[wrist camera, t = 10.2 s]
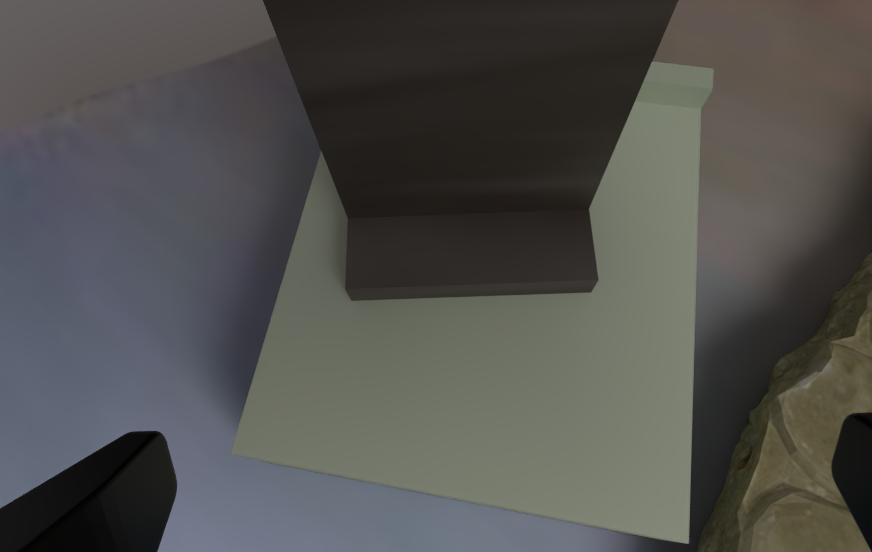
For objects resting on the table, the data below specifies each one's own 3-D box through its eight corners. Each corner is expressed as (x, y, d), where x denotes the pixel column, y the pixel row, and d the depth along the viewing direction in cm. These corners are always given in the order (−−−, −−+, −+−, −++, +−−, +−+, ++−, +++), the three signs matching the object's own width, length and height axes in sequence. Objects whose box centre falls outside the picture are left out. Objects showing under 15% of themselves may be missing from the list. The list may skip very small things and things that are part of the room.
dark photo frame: (591, 292, 17) (905, -230, 5) (351, 300, 17) (98, -182, 5) (569, 120, 19) (749, -529, 7) (356, 129, 20) (188, -486, 7)
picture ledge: (652, 538, 17) (704, 546, 14) (264, 462, 19) (215, 449, 15) (671, 141, 22) (713, 68, 19) (364, 102, 24) (346, 26, 20)
